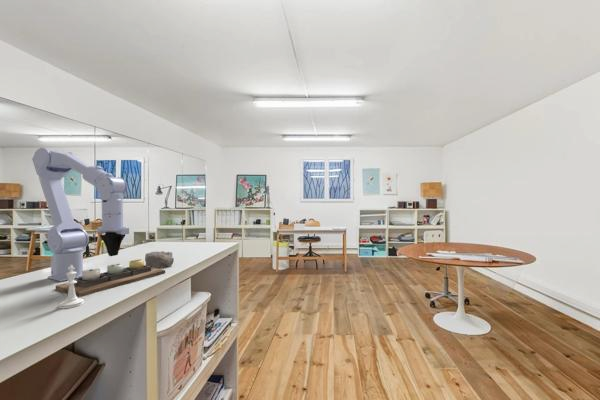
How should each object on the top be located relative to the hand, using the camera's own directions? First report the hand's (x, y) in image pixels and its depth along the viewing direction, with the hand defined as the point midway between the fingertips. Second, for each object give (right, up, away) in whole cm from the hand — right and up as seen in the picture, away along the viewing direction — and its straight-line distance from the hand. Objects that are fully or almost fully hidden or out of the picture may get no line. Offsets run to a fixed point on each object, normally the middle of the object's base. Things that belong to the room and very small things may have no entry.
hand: (113, 255), depth 89 cm
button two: (+1, -6, 0) cm, 6 cm away
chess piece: (+4, -8, -21) cm, 23 cm away
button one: (-3, -6, -6) cm, 9 cm away
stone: (+5, -8, +19) cm, 21 cm away
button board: (+1, -8, 0) cm, 8 cm away
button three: (+4, -6, +6) cm, 9 cm away
